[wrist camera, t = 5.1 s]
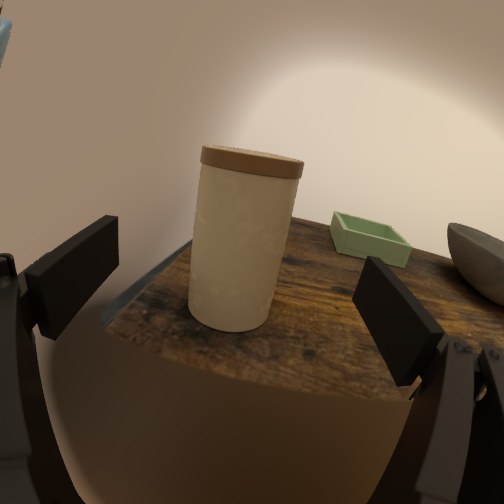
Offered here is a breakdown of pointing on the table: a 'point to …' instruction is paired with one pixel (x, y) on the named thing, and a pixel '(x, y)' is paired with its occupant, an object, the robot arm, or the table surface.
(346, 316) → the table surface
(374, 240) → the bin
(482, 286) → the bowl
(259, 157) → the tea tin
